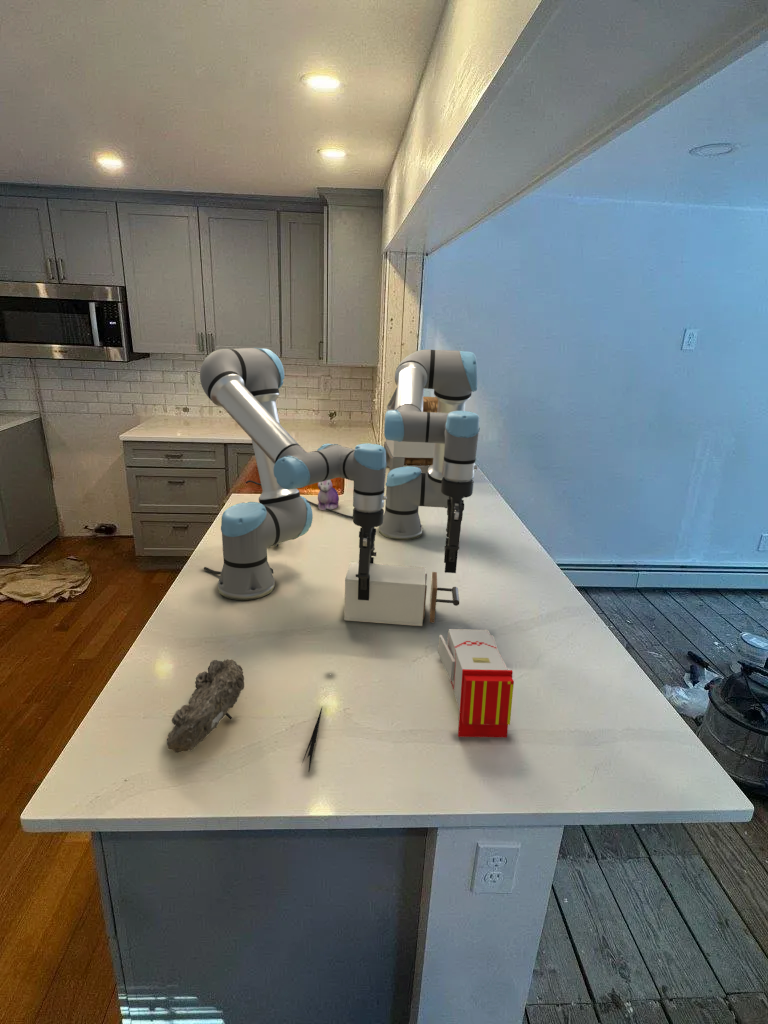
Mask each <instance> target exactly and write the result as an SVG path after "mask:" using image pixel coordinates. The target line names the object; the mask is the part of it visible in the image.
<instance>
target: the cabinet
mask: <svg viewBox="0 0 768 1024" xmlns="http://www.w3.org/2000/svg"><path fill="white" fill-rule="evenodd" d="M358 569H359V561H350V562H349V565H348V569H347V571H346V575H345V580H344V608H343V609H344V613H343V615H344V616H343V617H344V618H343V620H344V621H349V622H361V623H362V622H363V623H374V624H376V623H377V624H389V625H402V626H413V627H423V622H424V619H423V610H424V597H425V578H426V574H427V571H426V566H415V565H401V564H387V563H386V564H385V563H370V570H369V574H370V586H369V601H368V600H358V579H359V578H358V577H356V574H358Z"/></svg>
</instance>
